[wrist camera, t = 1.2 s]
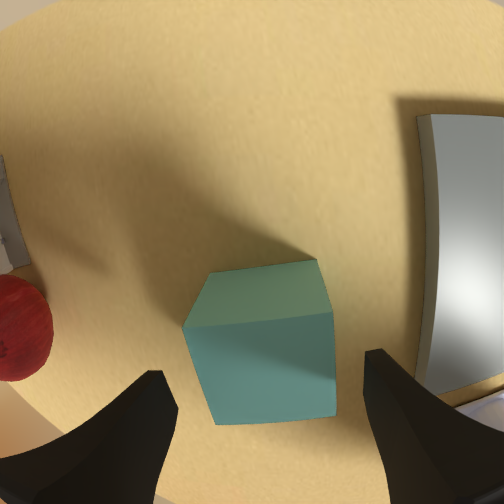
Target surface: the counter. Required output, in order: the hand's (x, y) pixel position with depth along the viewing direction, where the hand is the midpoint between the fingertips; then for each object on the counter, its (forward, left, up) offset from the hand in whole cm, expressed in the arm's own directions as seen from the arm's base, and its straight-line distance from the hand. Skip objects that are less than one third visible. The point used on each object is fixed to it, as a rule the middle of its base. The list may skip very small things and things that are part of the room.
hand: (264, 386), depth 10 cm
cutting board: (+1, -15, -5) cm, 16 cm away
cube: (0, 0, -6) cm, 6 cm away
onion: (+2, +14, -6) cm, 15 cm away
